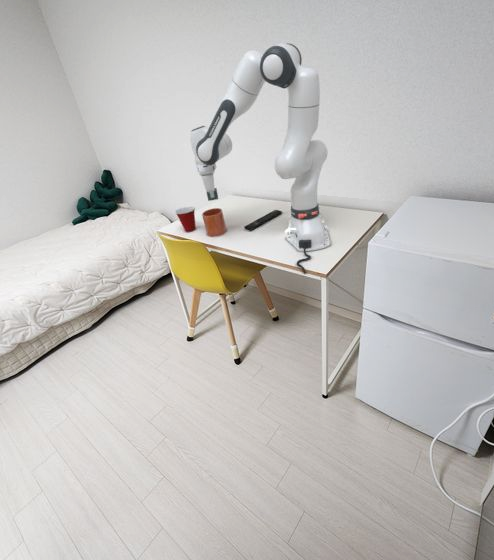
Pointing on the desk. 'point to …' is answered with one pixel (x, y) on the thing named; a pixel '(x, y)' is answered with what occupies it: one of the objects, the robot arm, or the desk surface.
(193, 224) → the plastic cup
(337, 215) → the desk surface
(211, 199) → the teal block
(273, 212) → the remote control
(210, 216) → the terracotta cup
